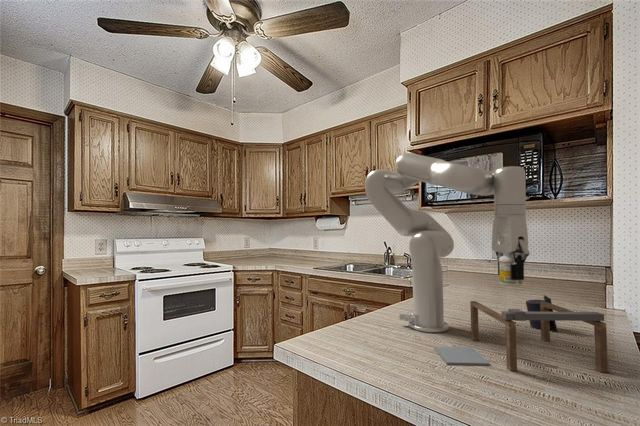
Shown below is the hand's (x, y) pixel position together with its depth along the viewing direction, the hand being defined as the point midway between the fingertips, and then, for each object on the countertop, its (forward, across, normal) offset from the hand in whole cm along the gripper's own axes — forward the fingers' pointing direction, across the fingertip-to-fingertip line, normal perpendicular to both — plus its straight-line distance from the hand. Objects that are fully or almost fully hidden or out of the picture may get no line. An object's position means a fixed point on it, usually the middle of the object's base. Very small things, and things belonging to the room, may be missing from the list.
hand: (510, 277), depth 88 cm
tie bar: (+8, +13, +2) cm, 15 cm away
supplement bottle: (+2, 0, 0) cm, 2 cm away
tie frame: (+19, +4, +3) cm, 20 cm away
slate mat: (+19, +6, -16) cm, 26 cm away
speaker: (+19, -17, +19) cm, 32 cm away
